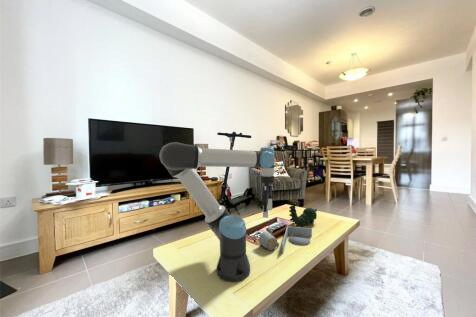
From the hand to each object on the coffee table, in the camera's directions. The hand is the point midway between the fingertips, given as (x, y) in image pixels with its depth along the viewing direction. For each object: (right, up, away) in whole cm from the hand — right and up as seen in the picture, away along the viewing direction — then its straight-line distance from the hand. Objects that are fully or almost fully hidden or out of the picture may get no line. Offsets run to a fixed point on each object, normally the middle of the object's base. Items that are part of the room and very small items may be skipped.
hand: (267, 213), depth 113 cm
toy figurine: (+31, -17, +33) cm, 48 cm away
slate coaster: (+20, -18, +7) cm, 28 cm away
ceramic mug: (+1, -19, +1) cm, 19 cm away
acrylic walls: (+18, -18, +3) cm, 26 cm away
